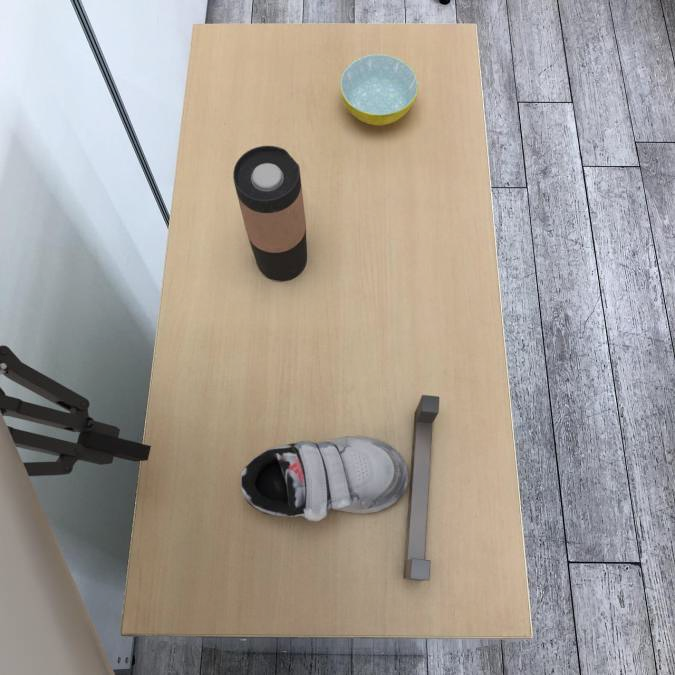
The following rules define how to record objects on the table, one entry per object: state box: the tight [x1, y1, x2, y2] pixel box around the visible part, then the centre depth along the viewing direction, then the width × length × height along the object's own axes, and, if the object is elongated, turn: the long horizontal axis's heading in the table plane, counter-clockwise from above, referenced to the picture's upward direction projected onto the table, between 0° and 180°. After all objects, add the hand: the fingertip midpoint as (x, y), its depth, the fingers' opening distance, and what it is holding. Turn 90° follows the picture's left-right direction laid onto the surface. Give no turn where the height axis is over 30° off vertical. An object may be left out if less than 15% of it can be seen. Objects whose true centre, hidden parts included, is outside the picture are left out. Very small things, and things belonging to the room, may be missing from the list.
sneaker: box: [240, 435, 409, 522], centre depth 72 cm, size 10×20×10 cm, turn 95°
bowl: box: [339, 53, 419, 126], centre depth 95 cm, size 11×12×6 cm
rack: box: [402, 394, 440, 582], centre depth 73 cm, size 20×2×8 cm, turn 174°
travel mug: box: [232, 145, 308, 282], centre depth 79 cm, size 8×8×20 cm
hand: (142, 453), depth 66 cm, fingers closed
